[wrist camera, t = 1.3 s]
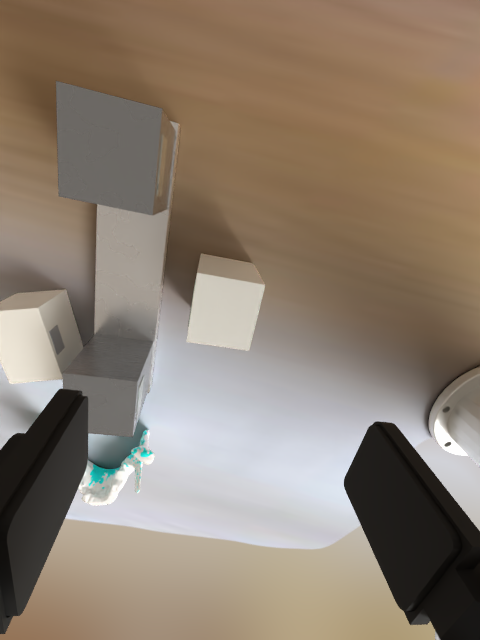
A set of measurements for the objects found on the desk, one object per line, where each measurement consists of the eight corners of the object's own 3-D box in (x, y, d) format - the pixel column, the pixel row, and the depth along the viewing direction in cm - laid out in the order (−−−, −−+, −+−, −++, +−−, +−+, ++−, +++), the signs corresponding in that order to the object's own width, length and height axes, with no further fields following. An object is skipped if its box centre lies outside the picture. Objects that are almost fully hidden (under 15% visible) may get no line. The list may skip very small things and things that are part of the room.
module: (253, 263, 25) (266, 285, 20) (241, 316, 27) (249, 350, 21) (200, 253, 25) (196, 272, 19) (191, 308, 27) (185, 341, 21)
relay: (67, 288, 25) (38, 307, 21) (85, 350, 27) (63, 378, 23) (16, 292, 25) (-23, 312, 21) (40, 355, 27) (9, 384, 23)
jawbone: (55, 486, 33) (-6, 549, 24) (59, 414, 33) (-1, 450, 24) (165, 485, 34) (147, 546, 25) (169, 416, 34) (152, 451, 25)
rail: (180, 127, 21) (165, 96, 14) (152, 383, 29) (133, 442, 22) (106, 108, 20) (53, 66, 13) (98, 377, 28) (62, 436, 22)
